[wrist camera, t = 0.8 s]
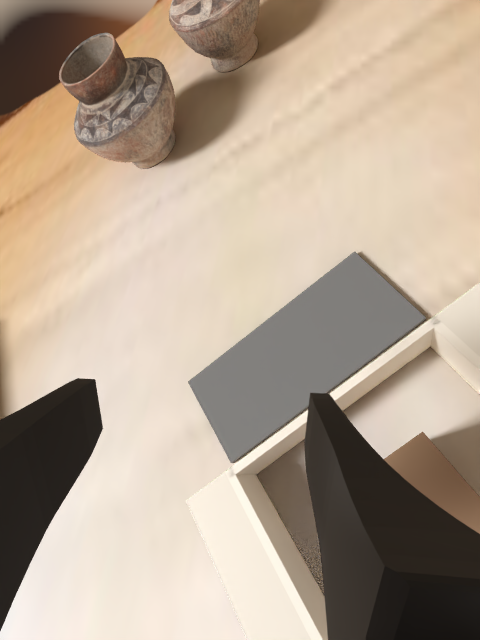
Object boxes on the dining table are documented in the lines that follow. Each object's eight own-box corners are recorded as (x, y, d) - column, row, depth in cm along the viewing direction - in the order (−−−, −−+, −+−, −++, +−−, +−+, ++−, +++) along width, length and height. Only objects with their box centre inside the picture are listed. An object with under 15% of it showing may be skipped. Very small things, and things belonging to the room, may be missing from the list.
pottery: (298, 28, 40) (261, -125, 30) (150, 203, 39) (59, 107, 29) (230, 17, 46) (179, -113, 36) (99, 170, 45) (9, 81, 35)
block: (473, 509, 20) (503, 524, 14) (396, 561, 20) (392, 597, 14) (418, 443, 22) (422, 431, 16) (349, 492, 22) (328, 498, 16)
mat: (425, 320, 24) (425, 317, 24) (233, 462, 26) (231, 462, 25) (355, 254, 28) (354, 251, 27) (190, 383, 29) (187, 381, 29)
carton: (706, 504, 17) (772, 511, 14) (329, 743, 19) (314, 795, 16) (470, 306, 23) (479, 281, 20) (211, 497, 25) (185, 500, 22)
